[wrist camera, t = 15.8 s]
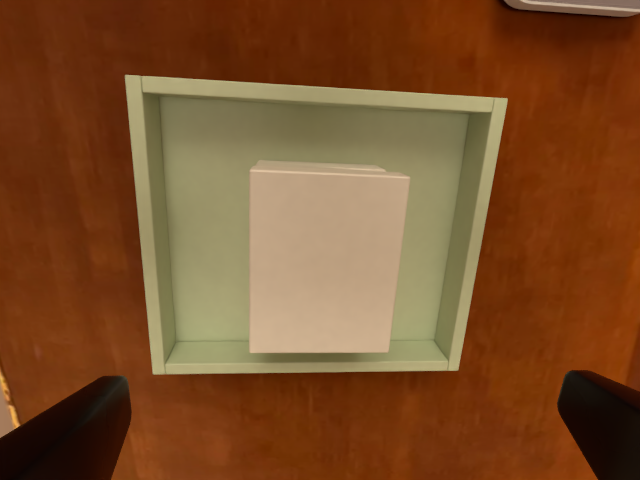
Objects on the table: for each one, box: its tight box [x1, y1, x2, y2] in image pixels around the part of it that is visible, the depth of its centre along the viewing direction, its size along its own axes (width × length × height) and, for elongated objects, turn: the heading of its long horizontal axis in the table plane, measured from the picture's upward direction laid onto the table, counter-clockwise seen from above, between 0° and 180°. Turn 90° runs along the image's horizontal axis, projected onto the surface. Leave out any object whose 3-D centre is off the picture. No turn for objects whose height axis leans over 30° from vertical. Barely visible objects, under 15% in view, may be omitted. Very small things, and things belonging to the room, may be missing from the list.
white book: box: [249, 166, 410, 353], centre depth 14 cm, size 6×7×1 cm
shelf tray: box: [125, 75, 508, 374], centre depth 18 cm, size 15×13×2 cm
